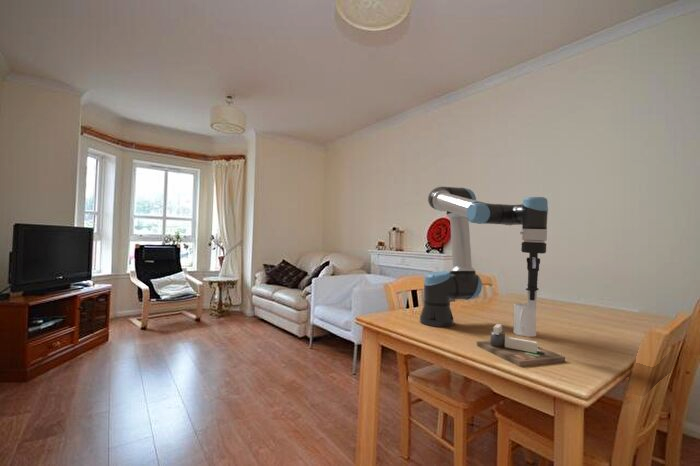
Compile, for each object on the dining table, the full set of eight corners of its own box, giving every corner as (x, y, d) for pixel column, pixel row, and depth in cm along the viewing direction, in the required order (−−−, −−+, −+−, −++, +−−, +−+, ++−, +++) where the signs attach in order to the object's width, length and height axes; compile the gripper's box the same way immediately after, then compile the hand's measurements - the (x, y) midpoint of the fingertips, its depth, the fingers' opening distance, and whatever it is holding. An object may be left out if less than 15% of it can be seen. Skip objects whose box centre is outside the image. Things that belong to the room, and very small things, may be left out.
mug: (530, 339, 126) (530, 309, 126) (507, 334, 132) (507, 305, 132) (539, 334, 134) (539, 305, 135) (517, 329, 141) (517, 302, 141)
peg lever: (488, 345, 112) (488, 326, 112) (492, 342, 117) (492, 323, 117) (543, 357, 102) (544, 335, 102) (545, 352, 107) (545, 331, 107)
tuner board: (476, 345, 118) (476, 340, 118) (516, 342, 123) (516, 337, 123) (519, 366, 98) (519, 361, 98) (565, 361, 103) (565, 356, 103)
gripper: (521, 240, 120) (519, 304, 120) (522, 241, 108) (519, 311, 109) (544, 241, 117) (542, 306, 117) (548, 242, 105) (545, 314, 105)
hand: (531, 308), depth 113 cm, fingers closed
